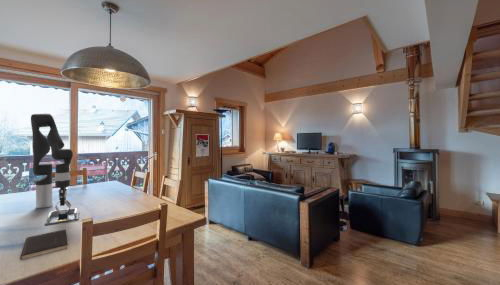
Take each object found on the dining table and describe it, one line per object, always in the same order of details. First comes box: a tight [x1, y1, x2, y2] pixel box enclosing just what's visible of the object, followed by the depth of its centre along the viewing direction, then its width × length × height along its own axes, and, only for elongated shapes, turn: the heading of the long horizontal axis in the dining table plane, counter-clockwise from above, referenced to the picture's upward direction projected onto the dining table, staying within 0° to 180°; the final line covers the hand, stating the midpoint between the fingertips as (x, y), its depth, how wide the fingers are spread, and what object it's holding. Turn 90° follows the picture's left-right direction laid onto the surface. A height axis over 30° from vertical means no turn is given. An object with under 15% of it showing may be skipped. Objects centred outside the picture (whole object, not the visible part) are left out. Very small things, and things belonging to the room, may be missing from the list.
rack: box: [44, 207, 80, 226], centre depth 146 cm, size 18×16×4 cm
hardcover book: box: [20, 229, 69, 260], centre depth 111 cm, size 16×23×2 cm
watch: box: [54, 199, 72, 219], centre depth 146 cm, size 6×8×11 cm
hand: (63, 203), depth 146 cm, fingers open, 8 cm apart
